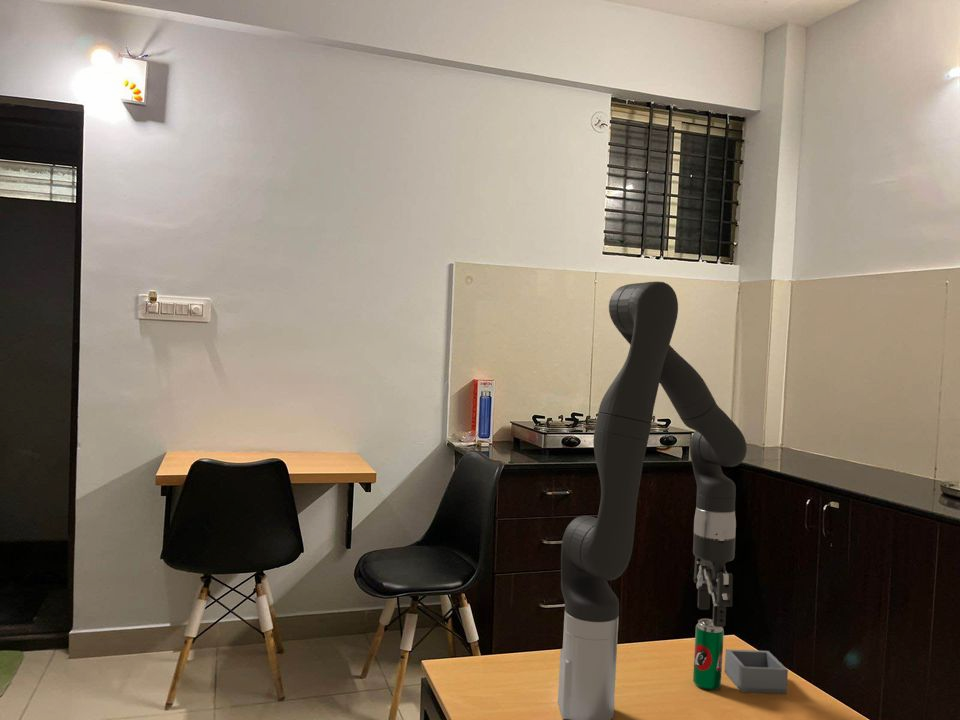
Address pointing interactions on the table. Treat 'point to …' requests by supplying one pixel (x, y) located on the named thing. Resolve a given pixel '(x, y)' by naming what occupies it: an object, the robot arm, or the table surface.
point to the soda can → (708, 655)
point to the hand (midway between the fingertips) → (711, 617)
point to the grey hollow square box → (756, 671)
